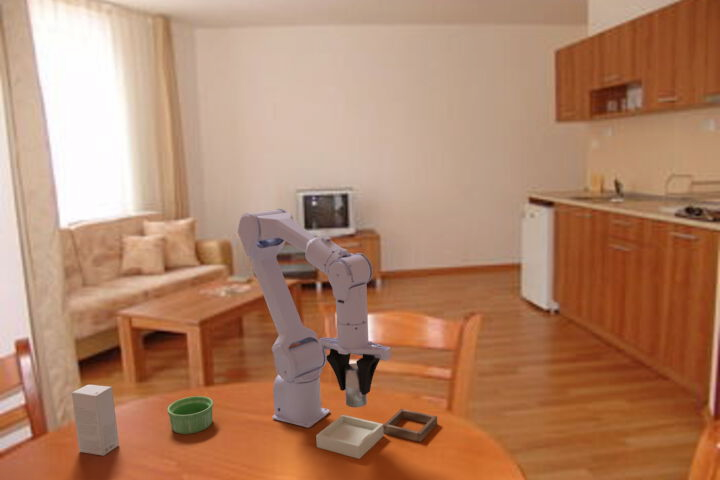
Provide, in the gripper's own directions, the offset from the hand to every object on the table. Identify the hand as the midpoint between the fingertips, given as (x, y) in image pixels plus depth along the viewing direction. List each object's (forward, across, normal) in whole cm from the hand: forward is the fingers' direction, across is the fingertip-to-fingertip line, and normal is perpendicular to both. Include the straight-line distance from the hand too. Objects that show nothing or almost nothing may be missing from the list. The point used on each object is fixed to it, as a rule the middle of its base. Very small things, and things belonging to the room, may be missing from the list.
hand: (355, 390), depth 106 cm
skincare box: (+10, -43, -24) cm, 50 cm away
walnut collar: (+10, +7, +8) cm, 15 cm away
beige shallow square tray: (+10, -1, -1) cm, 10 cm away
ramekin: (+10, -34, -9) cm, 37 cm away
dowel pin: (+2, 0, 0) cm, 3 cm away
